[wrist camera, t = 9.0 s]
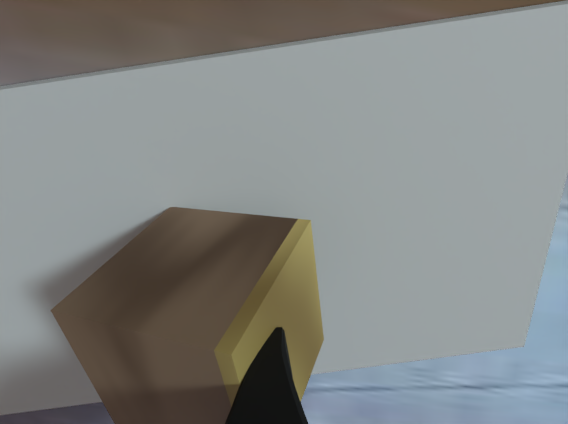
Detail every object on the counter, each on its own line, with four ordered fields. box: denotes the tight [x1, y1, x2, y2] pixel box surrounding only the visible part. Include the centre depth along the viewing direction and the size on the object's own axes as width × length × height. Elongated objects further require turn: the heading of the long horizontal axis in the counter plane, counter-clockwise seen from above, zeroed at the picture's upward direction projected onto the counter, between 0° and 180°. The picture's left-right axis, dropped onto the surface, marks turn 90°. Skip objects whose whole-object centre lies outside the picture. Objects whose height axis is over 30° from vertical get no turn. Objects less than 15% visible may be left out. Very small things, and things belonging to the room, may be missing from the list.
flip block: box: [51, 207, 324, 424], centre depth 12 cm, size 5×5×5 cm
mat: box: [0, 0, 568, 415], centre depth 15 cm, size 26×14×1 cm, turn 98°
